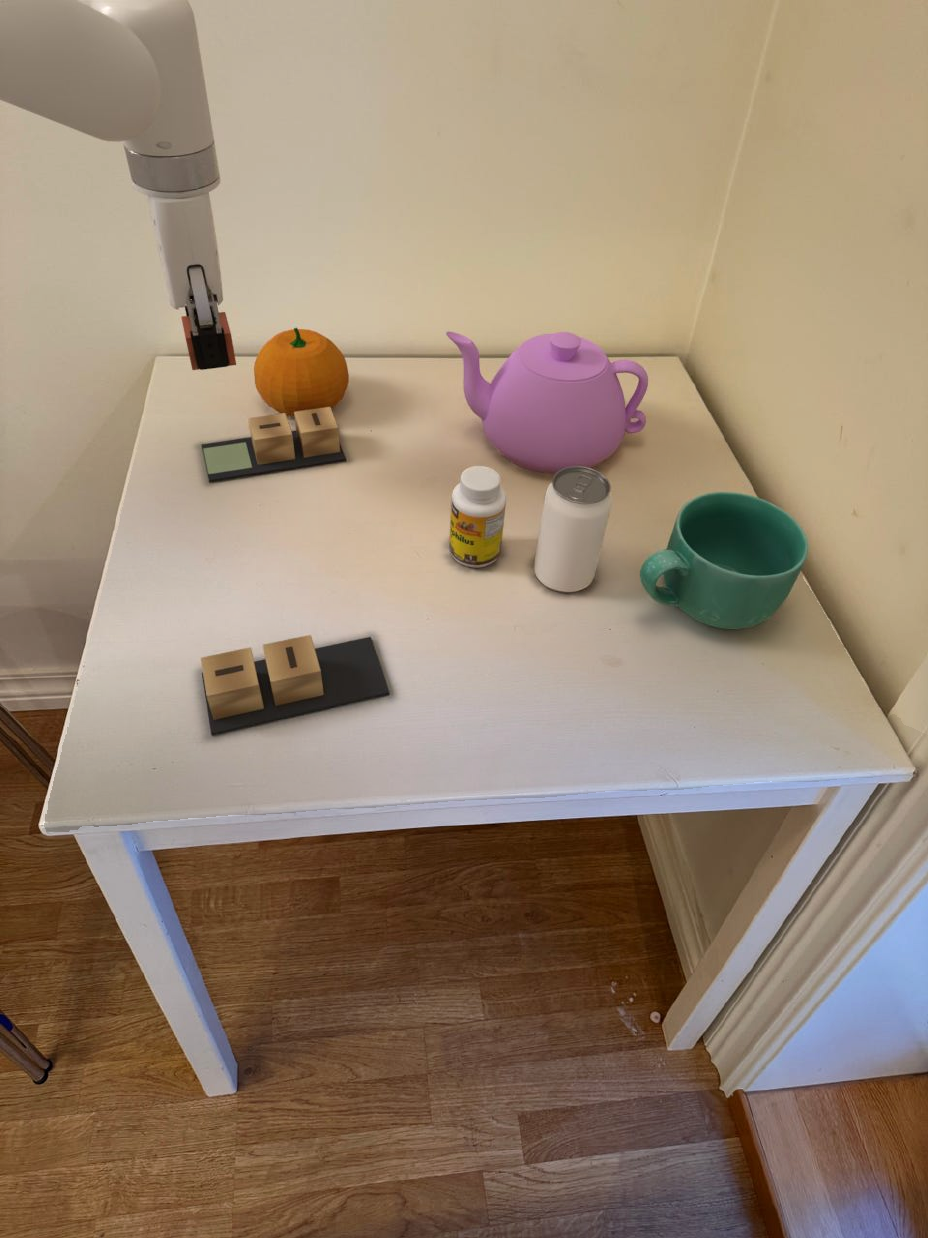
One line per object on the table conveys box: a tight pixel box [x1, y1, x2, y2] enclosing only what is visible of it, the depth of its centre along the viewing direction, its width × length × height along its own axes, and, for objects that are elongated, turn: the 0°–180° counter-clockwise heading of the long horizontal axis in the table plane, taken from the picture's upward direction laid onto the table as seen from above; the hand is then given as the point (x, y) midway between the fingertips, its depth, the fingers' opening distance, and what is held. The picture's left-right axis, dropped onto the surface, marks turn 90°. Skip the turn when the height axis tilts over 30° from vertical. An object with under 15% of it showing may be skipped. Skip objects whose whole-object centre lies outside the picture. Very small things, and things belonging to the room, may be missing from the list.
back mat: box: [201, 430, 347, 483], centre depth 99 cm, size 16×7×1 cm, turn 108°
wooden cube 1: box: [200, 647, 264, 720], centre depth 73 cm, size 4×4×4 cm
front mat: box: [201, 636, 390, 736], centre depth 76 cm, size 16×7×1 cm, turn 108°
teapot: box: [445, 331, 649, 475], centre depth 99 cm, size 25×18×14 cm
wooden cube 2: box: [262, 634, 324, 706], centre depth 75 cm, size 4×4×4 cm
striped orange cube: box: [181, 311, 237, 371], centre depth 85 cm, size 4×4×4 cm
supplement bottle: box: [448, 465, 507, 569], centre depth 86 cm, size 6×6×10 cm
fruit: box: [253, 327, 350, 417], centre depth 103 cm, size 12×12×10 cm
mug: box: [639, 491, 809, 630], centre depth 83 cm, size 17×13×10 cm
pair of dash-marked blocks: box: [247, 407, 341, 465], centre depth 98 cm, size 10×4×4 cm, turn 108°
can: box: [533, 466, 613, 594], centre depth 84 cm, size 6×6×12 cm
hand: (210, 351), depth 86 cm, fingers closed on striped orange cube, 4 cm apart
